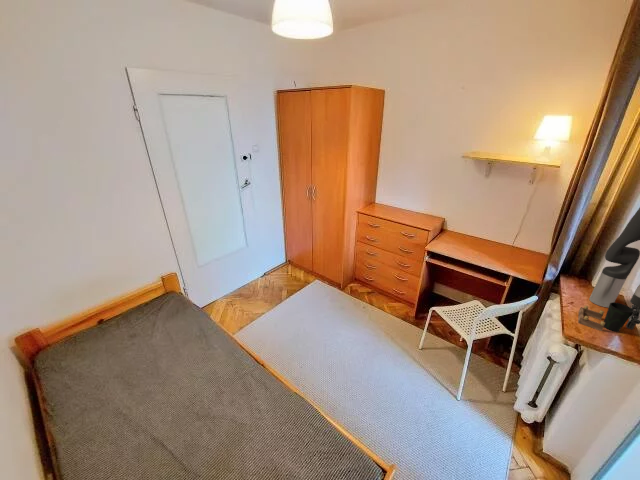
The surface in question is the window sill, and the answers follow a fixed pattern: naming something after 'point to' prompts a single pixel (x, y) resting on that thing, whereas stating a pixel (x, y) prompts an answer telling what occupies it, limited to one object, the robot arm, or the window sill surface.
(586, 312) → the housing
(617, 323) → the cup
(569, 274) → the window sill surface
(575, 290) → the window sill surface
